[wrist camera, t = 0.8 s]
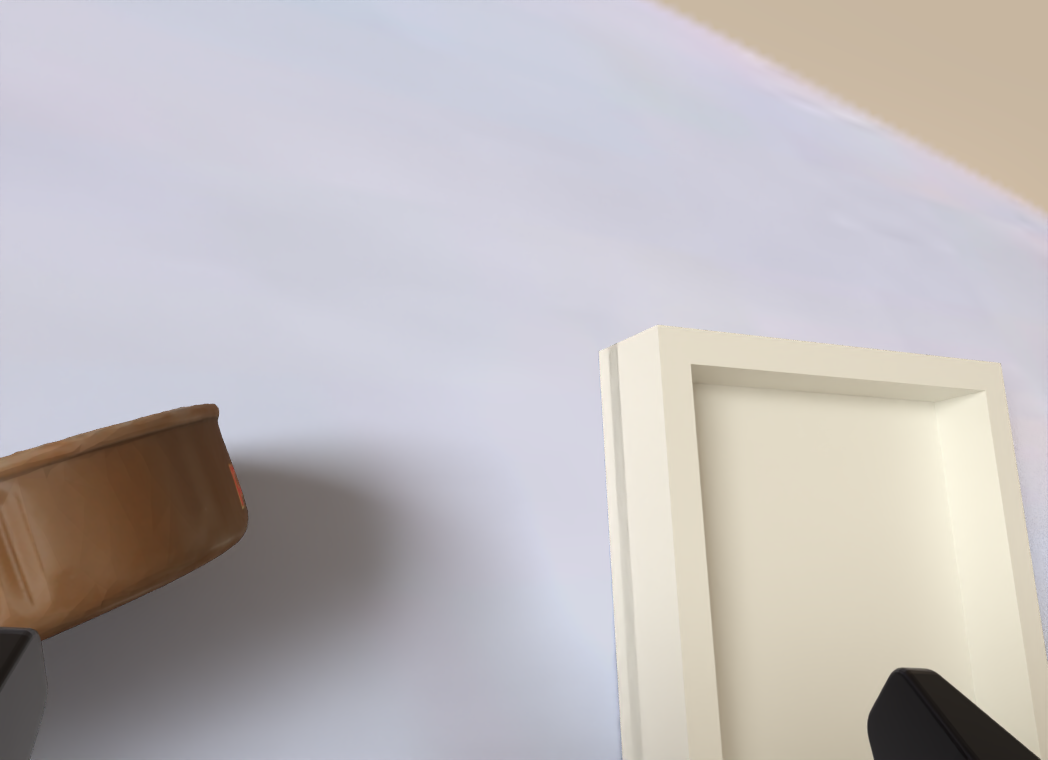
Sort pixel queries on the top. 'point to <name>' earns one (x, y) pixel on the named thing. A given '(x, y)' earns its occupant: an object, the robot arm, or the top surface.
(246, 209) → the top surface
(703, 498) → the tray
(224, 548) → the tin
